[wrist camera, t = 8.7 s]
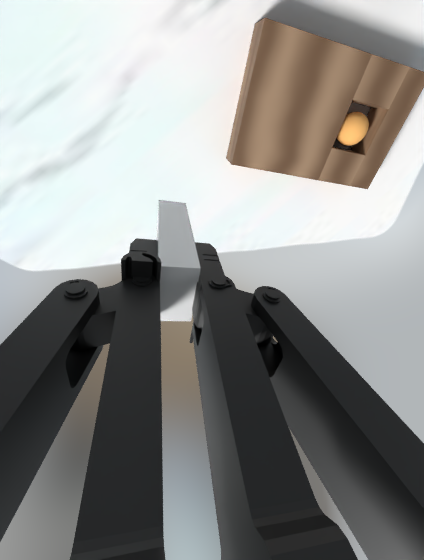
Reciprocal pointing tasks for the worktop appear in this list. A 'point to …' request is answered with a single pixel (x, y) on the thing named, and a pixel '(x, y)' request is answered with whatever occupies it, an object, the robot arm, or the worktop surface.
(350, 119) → the ball
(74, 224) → the worktop surface
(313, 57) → the wooden block with hole
